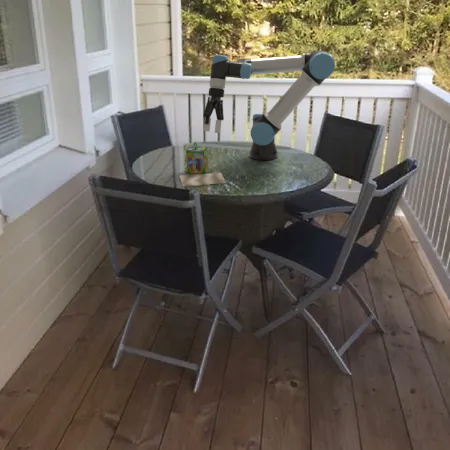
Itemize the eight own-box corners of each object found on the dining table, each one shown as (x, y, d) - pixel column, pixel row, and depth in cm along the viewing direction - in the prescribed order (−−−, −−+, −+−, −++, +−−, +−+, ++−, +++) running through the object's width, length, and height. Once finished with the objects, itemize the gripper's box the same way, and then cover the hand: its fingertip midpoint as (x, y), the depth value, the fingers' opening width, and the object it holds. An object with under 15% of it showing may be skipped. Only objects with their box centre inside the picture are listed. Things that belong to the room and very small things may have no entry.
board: (220, 173, 249) (220, 172, 248) (226, 183, 234) (226, 182, 234) (179, 176, 246) (179, 175, 245) (182, 187, 231) (182, 185, 231)
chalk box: (205, 174, 248) (204, 144, 242) (186, 174, 250) (185, 144, 244) (208, 169, 257) (207, 140, 251) (191, 168, 258) (189, 139, 252)
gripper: (219, 91, 262) (214, 132, 266) (199, 84, 239) (194, 129, 243) (232, 92, 260) (228, 134, 263) (214, 85, 237) (209, 131, 240)
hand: (212, 132), depth 253 cm, fingers open, 13 cm apart
